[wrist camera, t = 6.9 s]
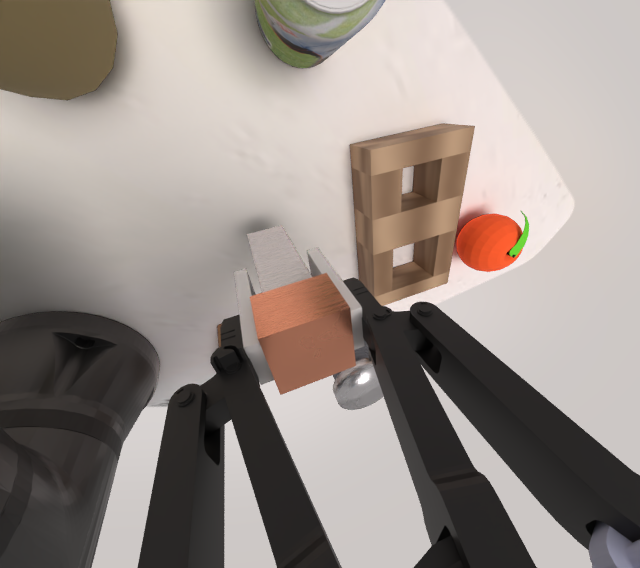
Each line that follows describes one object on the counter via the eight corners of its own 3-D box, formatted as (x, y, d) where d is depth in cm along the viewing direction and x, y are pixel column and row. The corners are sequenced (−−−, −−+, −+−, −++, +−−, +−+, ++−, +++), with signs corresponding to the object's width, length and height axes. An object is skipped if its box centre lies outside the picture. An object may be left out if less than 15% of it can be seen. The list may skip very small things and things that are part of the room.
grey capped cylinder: (297, 313, 33) (340, 417, 22) (289, 281, 30) (334, 382, 19) (334, 301, 34) (394, 394, 23) (330, 268, 31) (395, 358, 20)
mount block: (359, 290, 34) (374, 308, 31) (349, 144, 24) (370, 150, 21) (426, 267, 36) (447, 283, 33) (443, 123, 26) (474, 126, 23)
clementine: (471, 190, 32) (527, 208, 26) (503, 207, 35) (559, 227, 29) (434, 250, 35) (477, 277, 30) (467, 260, 38) (511, 287, 33)
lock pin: (251, 272, 22) (280, 395, 13) (236, 229, 20) (257, 339, 11) (297, 259, 23) (356, 365, 14) (287, 215, 21) (350, 307, 11)
